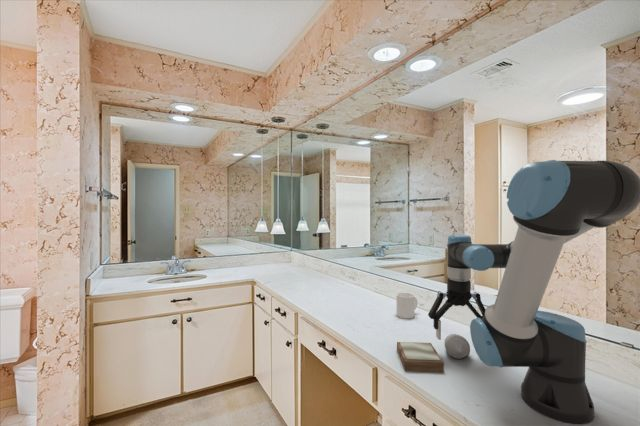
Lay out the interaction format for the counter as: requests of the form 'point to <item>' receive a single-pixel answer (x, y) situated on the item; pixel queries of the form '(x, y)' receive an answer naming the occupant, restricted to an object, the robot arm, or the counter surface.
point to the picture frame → (419, 357)
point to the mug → (406, 305)
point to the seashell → (457, 346)
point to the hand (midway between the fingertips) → (458, 338)
